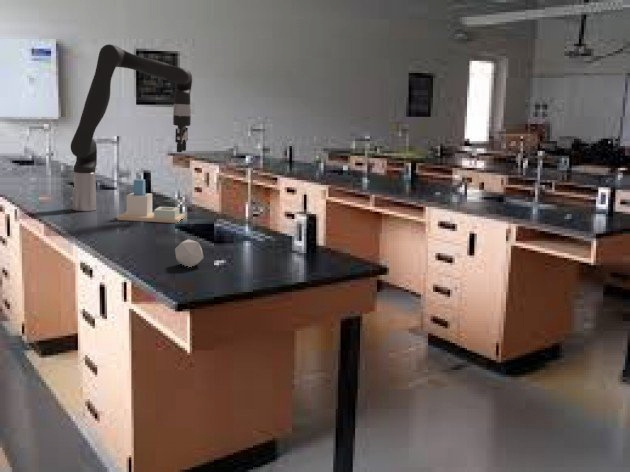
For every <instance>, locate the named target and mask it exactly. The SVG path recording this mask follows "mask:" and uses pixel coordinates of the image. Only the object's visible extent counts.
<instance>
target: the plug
mask: <svg viewBox="0 0 630 472" xmlns="http://www.w3.org/2000/svg"><path fill="white" fill-rule="evenodd" d="M133 193H134V195H138V196H145V193H146V179H141V178H135V179H133Z"/></svg>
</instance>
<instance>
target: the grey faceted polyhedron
mask: <svg viewBox="0 0 630 472" xmlns="http://www.w3.org/2000/svg"><path fill="white" fill-rule="evenodd" d="M174 252H175V259H176V260H177V262H178V264H179V265H180V264H182V265H181V266H183V265H184V266H183V267H186V266H188V267H187V268H189V267H191V268H193V267H195V266H196V265H198V263H200V262H201V261H202V260H203V259H204V253H203V249H202V246H201V245H200V243H199V242H198V241H195V240H192V239H189V238H188V239H186V240H184V241H181V242H180V243H179V244H178V246H176V247H175V248H174ZM192 266H193V267H192Z"/></svg>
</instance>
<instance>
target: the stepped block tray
mask: <svg viewBox="0 0 630 472" xmlns="http://www.w3.org/2000/svg"><path fill="white" fill-rule="evenodd" d="M184 217H185V218H186V213H180V207H173V206H170V207H169V206H158V207H157V208H155V209H154V210H153V193H146V192H145V196H138V195H134V192H131V193H129V194H126V211H124V212H123V213H121V214H119V215H117V221H129V222H130V221H131V222H149V223H150V222H153V223H170V224H171V223H172V224H173V223H174V224H178V223H177V222H179V221H180V220H181V219H183V218H184ZM185 218H184V219H185ZM184 219H183V220H184ZM181 221H182V220H181ZM181 221H180V222H181ZM180 222H179V223H180Z"/></svg>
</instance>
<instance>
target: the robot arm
mask: <svg viewBox="0 0 630 472" xmlns="http://www.w3.org/2000/svg"><path fill="white" fill-rule="evenodd" d="M116 68H125V69H130V70H134V71H137V72H140V73H142V74H145V75H147V76H151V77H153V78H157V79H160V80H166V81H168V82H171V83H175V84H176V86H175V87H176V89H175V90H174V91H175V92H174V95H173V113H172V116H173V117H172V120H173V121H172V124H173V126H177V128H175V140H174V142H175V143H176V153H183V152H186V151H187V142H188V140H189V138H188V134H189V133H188V132H189V131H188V130H189V129H188V127H190V126H191V123H192V122H191V119H192V118H191V117H192V116H191V114H192V113H191V112H192V110H191V91H192V87H193V85H192V84H193V76H192V72H191V71H190V70H189V69H187V68H184V67H179V66H175V65H171V64H169V63H167V62H163V61H159V60H156V59H153V58H148V57H144V56H143V57H142V56H139V55H137V54H133V53H131V52H129V51H126V50H124V49H122V48H121V47H119V46H118V45H113V44H105V45H103V46H102V47H101V48H100V50H99V53H98V57H97V62H96V68H95V72H94V75H93V77H92V81H91V83H90V87H89V90H88V92H87V95H86V99H85V102H84V105H83V108H82V109H83V110H82V112H81V115H80V120H79V123H78V125H77V126H78V127H77V129H76V131H75V132H74V136H73V137H72V140H71V142H70V150H71V153H72V155H73V156H74V157H76V159H75V160H76V161H75V164H74V165H73V187H74V188H73V189H72V210H73V211H77V212H92V211H96V210H97V192H96V191H97V185H96V179H97V178H96V168H97V164H98V163H97V162H98V159H97V158H98V156H97V155H98V147H97V143H96V140H94V135H95V132H96V129H97V127H98V126H99V124H100V123H101V121H102V119H103V118H104V116H105V114H106V112H107V108H108V106H109V103H110V97H111V82H112V78H113V75H114V72H115V70H116Z"/></svg>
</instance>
